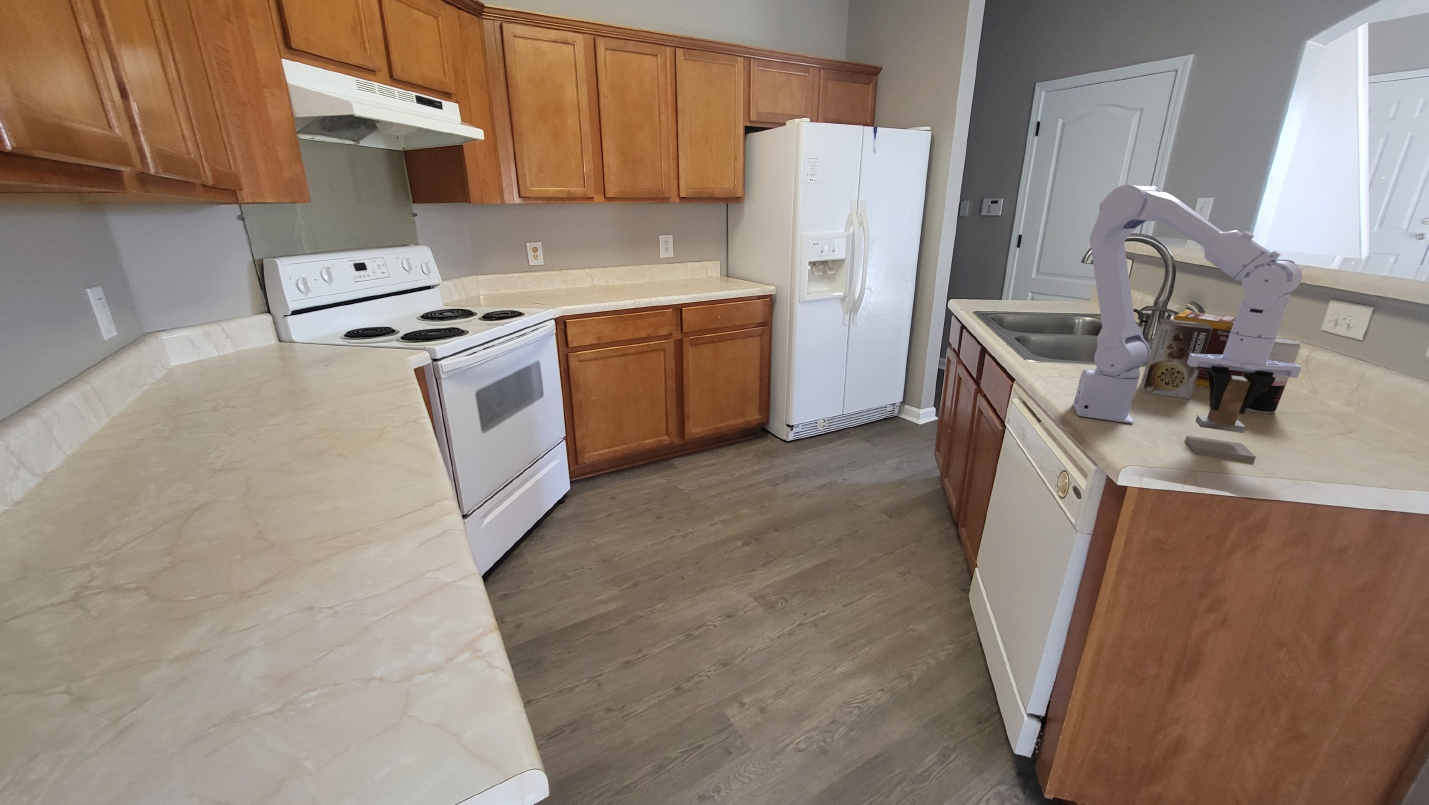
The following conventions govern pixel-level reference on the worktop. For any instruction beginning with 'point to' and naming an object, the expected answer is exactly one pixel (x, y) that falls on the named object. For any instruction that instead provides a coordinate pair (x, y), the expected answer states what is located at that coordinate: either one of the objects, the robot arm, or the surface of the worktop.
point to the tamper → (1227, 408)
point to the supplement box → (1212, 338)
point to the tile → (1220, 449)
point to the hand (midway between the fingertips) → (1225, 410)
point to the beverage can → (1276, 376)
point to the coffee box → (1174, 358)
